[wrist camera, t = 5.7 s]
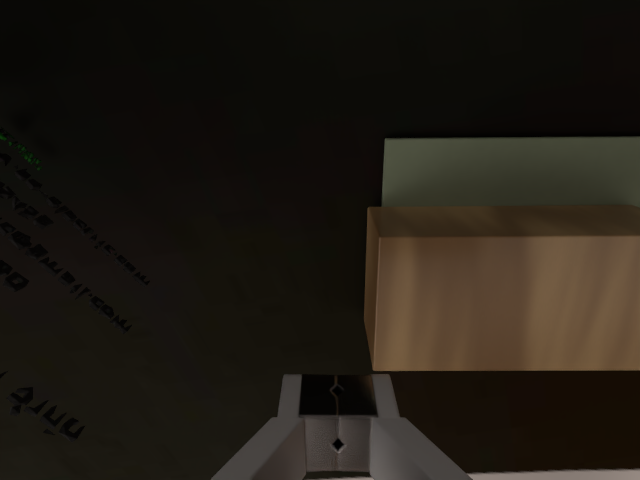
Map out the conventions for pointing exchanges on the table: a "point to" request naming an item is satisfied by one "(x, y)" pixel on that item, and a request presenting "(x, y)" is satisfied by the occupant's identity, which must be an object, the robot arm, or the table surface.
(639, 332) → the block
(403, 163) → the mat
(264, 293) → the table surface
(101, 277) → the table surface
